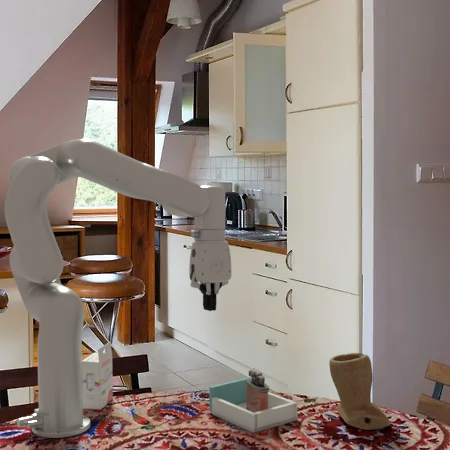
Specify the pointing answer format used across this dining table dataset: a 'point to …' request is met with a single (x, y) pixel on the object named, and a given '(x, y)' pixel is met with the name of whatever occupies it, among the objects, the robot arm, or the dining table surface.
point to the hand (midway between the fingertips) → (209, 309)
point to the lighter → (256, 392)
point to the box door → (230, 392)
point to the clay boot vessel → (356, 391)
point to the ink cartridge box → (97, 378)
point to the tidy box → (256, 413)
